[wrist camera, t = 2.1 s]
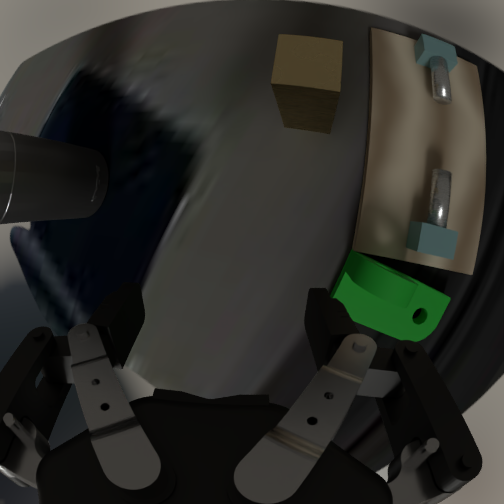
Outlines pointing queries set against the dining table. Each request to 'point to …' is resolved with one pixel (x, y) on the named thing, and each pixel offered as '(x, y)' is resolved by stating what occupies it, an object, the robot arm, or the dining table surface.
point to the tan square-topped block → (307, 81)
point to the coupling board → (422, 155)
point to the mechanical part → (388, 298)
